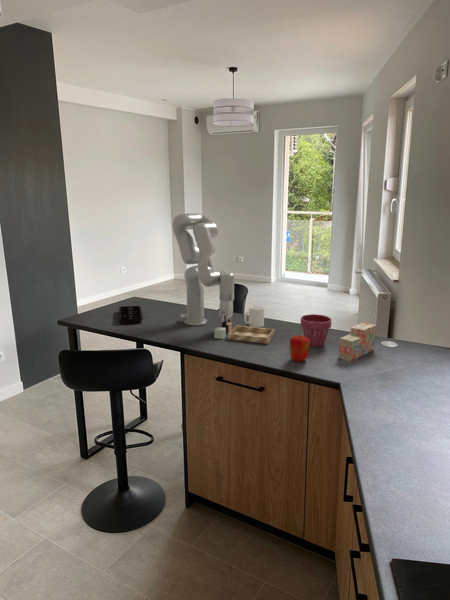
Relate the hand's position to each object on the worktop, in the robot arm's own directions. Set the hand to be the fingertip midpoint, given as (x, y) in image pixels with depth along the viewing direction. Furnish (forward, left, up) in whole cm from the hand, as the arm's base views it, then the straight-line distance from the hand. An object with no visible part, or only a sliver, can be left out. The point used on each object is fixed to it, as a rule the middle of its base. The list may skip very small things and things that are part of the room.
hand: (226, 330), depth 222 cm
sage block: (0, -10, -1) cm, 10 cm away
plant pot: (+46, -4, -1) cm, 46 cm away
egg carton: (-60, +6, -1) cm, 60 cm away
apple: (+42, -28, -1) cm, 50 cm away
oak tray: (+15, -5, 0) cm, 16 cm away
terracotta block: (0, 0, 0) cm, 0 cm away
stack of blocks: (+66, -11, -1) cm, 67 cm away
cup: (+11, +14, -1) cm, 18 cm away
